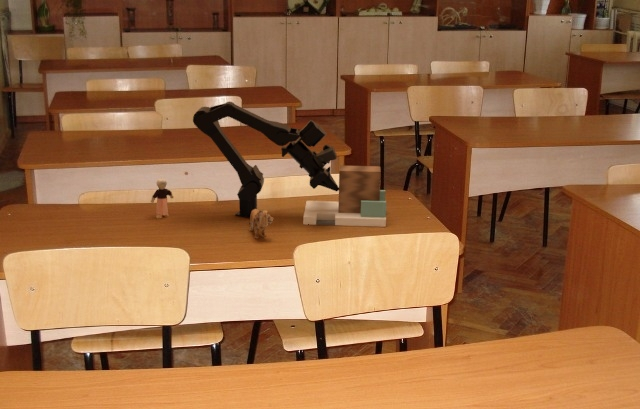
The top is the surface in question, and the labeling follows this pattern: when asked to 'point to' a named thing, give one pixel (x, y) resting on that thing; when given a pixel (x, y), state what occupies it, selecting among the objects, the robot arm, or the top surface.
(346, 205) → the walnut block
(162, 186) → the grandmother figurine
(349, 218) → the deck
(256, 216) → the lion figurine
